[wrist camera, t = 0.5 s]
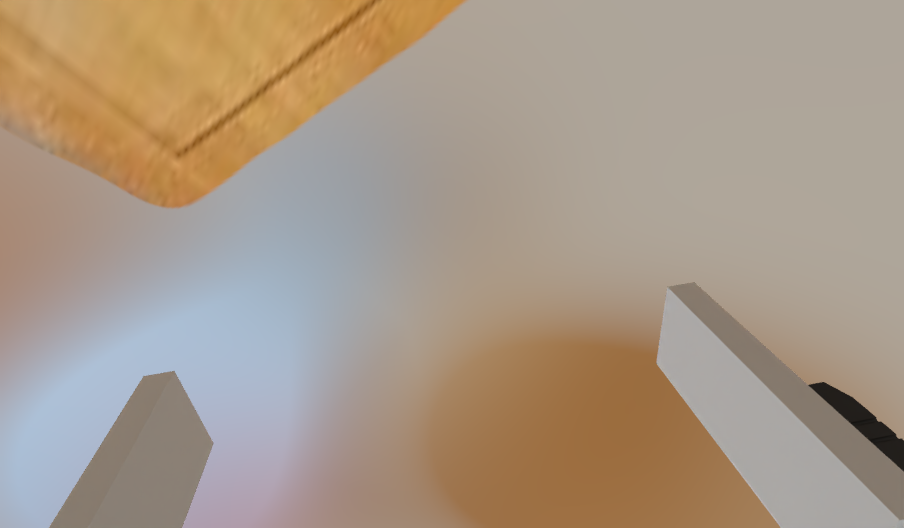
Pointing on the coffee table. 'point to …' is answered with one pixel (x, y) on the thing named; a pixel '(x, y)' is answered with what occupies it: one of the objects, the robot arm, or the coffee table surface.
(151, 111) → the coffee table surface
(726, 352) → the robot arm
